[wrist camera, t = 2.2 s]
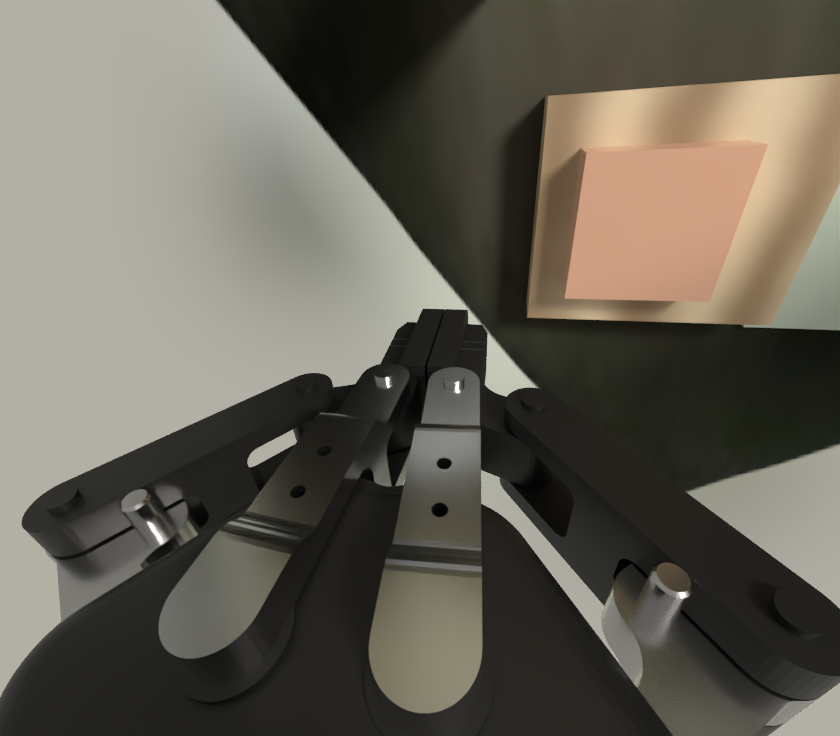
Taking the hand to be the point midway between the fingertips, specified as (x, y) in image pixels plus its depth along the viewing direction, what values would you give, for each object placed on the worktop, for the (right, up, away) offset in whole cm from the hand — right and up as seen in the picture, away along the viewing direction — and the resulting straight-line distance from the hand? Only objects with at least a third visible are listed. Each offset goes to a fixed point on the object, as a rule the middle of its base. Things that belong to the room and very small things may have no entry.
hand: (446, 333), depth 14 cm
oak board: (+14, +9, +12) cm, 21 cm away
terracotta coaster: (+12, +7, +9) cm, 16 cm away
